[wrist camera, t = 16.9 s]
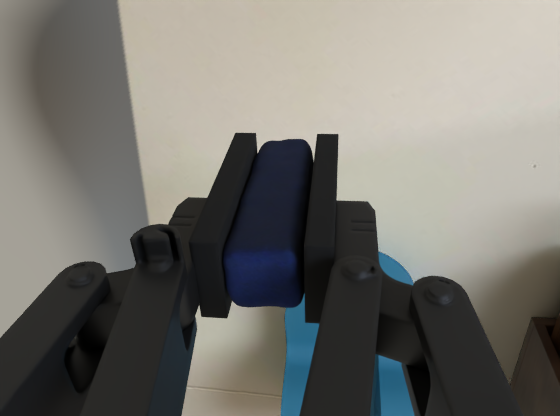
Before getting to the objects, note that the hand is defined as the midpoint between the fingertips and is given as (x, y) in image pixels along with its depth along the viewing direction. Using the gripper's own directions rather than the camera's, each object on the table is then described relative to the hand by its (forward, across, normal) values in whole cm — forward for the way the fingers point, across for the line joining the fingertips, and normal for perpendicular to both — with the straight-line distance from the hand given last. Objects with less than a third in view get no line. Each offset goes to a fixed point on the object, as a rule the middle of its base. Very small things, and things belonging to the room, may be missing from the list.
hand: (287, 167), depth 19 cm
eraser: (+1, 0, 0) cm, 1 cm away
